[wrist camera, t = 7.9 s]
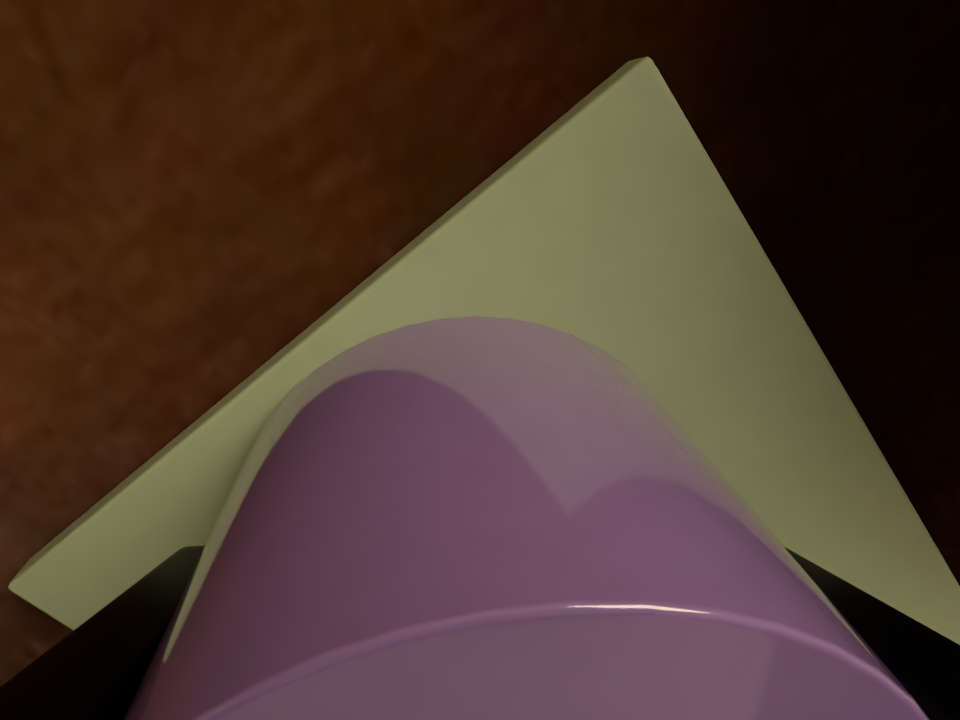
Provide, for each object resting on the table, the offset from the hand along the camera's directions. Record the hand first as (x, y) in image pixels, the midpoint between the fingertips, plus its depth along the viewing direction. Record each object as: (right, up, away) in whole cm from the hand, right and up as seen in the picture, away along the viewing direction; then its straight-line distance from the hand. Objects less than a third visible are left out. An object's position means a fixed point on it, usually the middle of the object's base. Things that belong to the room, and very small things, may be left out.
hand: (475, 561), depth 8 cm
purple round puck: (0, 0, +1) cm, 1 cm away
